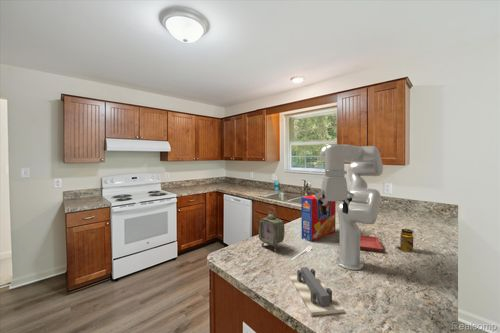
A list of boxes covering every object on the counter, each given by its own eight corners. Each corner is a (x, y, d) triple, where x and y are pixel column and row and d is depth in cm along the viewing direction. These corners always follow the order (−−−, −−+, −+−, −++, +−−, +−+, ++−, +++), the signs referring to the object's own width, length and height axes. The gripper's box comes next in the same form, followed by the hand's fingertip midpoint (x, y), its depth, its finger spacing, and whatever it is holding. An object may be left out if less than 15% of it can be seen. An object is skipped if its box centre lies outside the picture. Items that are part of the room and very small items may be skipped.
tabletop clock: (258, 245, 132) (258, 205, 131) (268, 241, 138) (268, 203, 137) (275, 253, 121) (275, 209, 120) (286, 249, 127) (285, 207, 126)
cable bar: (300, 276, 95) (300, 267, 95) (307, 275, 96) (307, 267, 95) (321, 307, 75) (321, 296, 75) (329, 306, 76) (329, 295, 76)
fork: (288, 260, 114) (288, 257, 114) (307, 248, 128) (307, 245, 128) (293, 262, 112) (293, 259, 112) (312, 249, 126) (312, 246, 126)
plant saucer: (383, 254, 119) (383, 248, 119) (348, 249, 126) (348, 244, 126) (377, 242, 136) (377, 237, 136) (346, 238, 143) (346, 233, 142)
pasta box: (311, 242, 136) (311, 198, 135) (301, 238, 143) (301, 197, 142) (335, 232, 153) (335, 194, 152) (325, 229, 160) (325, 192, 159)
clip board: (289, 277, 97) (289, 266, 96) (314, 275, 98) (314, 263, 98) (311, 316, 73) (311, 301, 73) (344, 312, 74) (344, 297, 74)
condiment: (414, 254, 118) (415, 232, 118) (396, 250, 122) (396, 230, 122) (412, 249, 125) (413, 228, 124) (395, 246, 129) (395, 226, 128)
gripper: (348, 172, 95) (348, 210, 96) (311, 173, 93) (311, 212, 94) (359, 174, 88) (358, 215, 88) (319, 175, 85) (319, 217, 86)
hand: (334, 213), depth 91 cm, fingers open, 9 cm apart
